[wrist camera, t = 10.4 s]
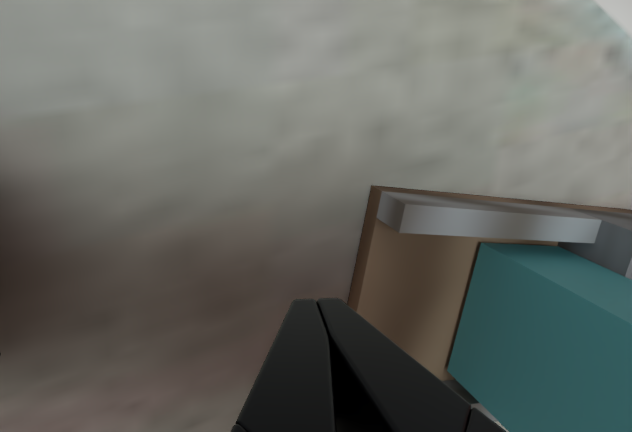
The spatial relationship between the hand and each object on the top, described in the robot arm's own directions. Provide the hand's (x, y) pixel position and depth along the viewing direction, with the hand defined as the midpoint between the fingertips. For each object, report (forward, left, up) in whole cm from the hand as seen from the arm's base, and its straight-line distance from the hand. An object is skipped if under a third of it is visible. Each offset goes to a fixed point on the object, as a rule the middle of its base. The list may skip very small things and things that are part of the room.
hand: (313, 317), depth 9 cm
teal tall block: (-6, -16, -11) cm, 20 cm away
